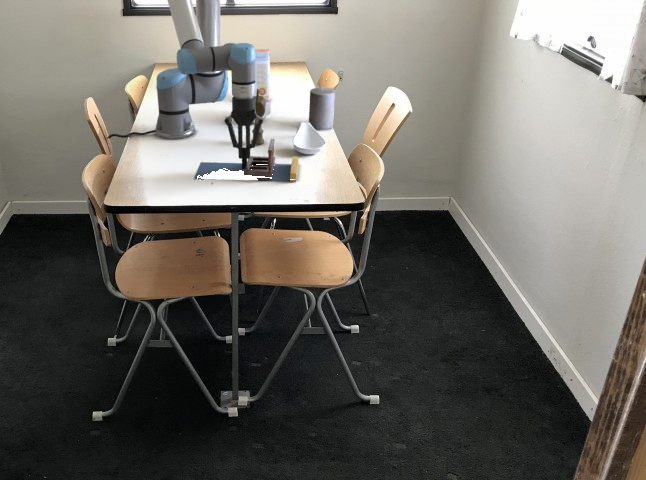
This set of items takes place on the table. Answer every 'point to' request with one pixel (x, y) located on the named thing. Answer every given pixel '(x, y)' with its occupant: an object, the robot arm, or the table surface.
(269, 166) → the rack
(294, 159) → the rail
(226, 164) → the runner mat
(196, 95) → the robot arm
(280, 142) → the table surface
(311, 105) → the pillar candle
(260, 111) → the kendama
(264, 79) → the cracker box
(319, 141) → the spoon rest
